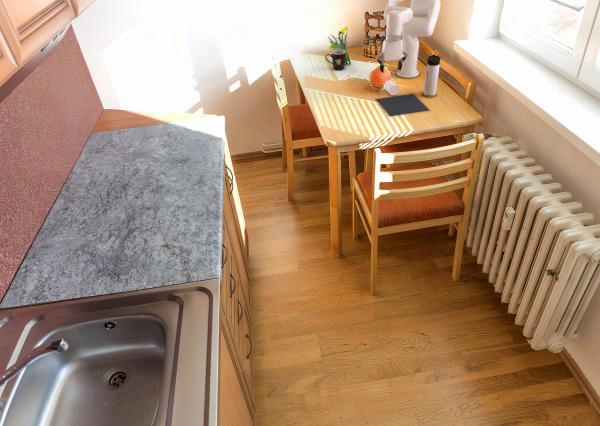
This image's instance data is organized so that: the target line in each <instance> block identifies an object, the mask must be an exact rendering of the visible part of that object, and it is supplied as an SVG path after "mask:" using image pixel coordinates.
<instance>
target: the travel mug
mask: <svg viewBox="0 0 600 426" xmlns="http://www.w3.org/2000/svg"><path fill="white" fill-rule="evenodd" d="M440 66H441V56H439V55H436V54H431V55H429V56H428V57H427V62H426V69H425V78H424V85H423V96H424V97H426V98H433V97H435V96H436V94H437V86H438V80H439V74H440Z"/></svg>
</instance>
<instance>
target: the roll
mask: <svg viewBox="0 0 600 426" xmlns="http://www.w3.org/2000/svg"><path fill="white" fill-rule="evenodd" d="M385 81H386V82H385V84H384V83H383V85H384V87H383V89H384V90H385V91H386V92H387V93H388V94H389V95H391V96H397V95H398V94H399V93H400V87H399V86H398V85H397V84H396V83H395V81H394V80H390V79H389V80H388V79H387V80H385Z"/></svg>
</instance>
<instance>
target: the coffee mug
mask: <svg viewBox="0 0 600 426" xmlns="http://www.w3.org/2000/svg"><path fill="white" fill-rule="evenodd" d="M345 55H346V51H345V50H341V49H338V50H333V49H332V51H331V52H330V53H327V54H325V60H326V61H327V62H328V63H329V64H331V65H332V69H333V70H334V71H342V70H344V69H345V65H346V64H345ZM327 56H330V57H331V59H332V61H330V60H328V59H327Z"/></svg>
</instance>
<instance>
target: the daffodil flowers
mask: <svg viewBox="0 0 600 426" xmlns="http://www.w3.org/2000/svg"><path fill="white" fill-rule="evenodd" d="M342 24H343V22H341V23H340V21H338V25H339V29H340V30H339V31H338V35H337V36H338V37H335V36H334V35H333V34H330V36H327V39H326V41H327V42H328V43H330V45H328V49H329V50H332V51H333V50H338V49H341V50H345V51H346V55H345V64H344V65H345V66H347V65H351V64H352V61H351V58H350V56H349V53H348V50H347V45H348V43H349V41H347V40H349V37H347V36H348V31H349V29H348V27H347V26H345V27H343V25H342ZM331 37H332V39H333V40H332V39H331ZM328 39H329V40H328ZM337 39H338V40H337Z"/></svg>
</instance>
